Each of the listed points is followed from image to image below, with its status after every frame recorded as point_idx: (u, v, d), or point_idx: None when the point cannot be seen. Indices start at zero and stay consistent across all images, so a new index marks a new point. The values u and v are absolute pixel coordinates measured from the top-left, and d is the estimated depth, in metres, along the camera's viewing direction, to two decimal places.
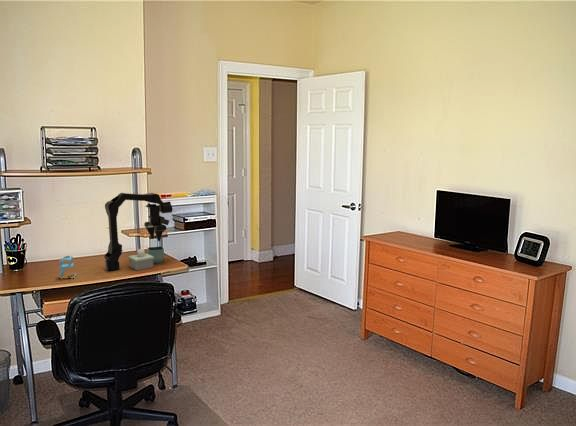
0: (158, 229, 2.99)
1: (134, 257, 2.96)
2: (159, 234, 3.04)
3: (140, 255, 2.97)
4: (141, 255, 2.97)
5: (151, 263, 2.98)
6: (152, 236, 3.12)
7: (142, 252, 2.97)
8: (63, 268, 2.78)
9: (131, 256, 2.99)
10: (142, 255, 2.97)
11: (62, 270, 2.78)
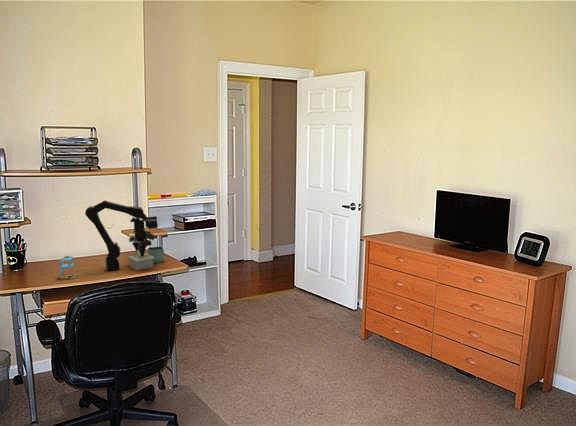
0: (143, 245, 2.89)
1: (134, 257, 2.96)
2: (142, 249, 2.95)
3: (140, 255, 2.97)
4: None
5: (151, 263, 2.98)
6: None
7: None
8: (63, 268, 2.78)
9: (131, 256, 2.99)
10: None
11: (62, 270, 2.78)
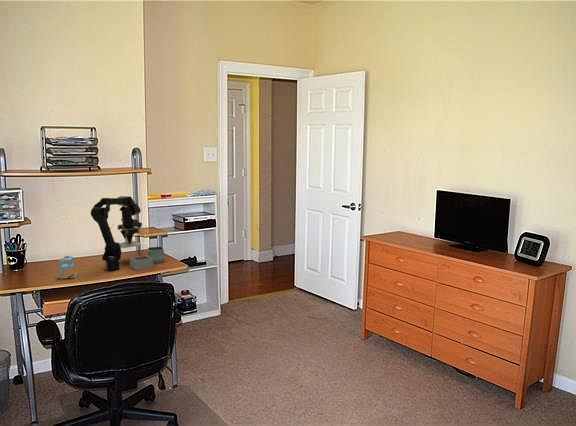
0: (130, 232, 3.00)
1: (122, 244, 3.07)
2: (130, 236, 3.06)
3: (128, 242, 3.08)
4: None
5: (151, 263, 2.98)
6: None
7: None
8: (63, 268, 2.78)
9: (119, 243, 3.10)
10: None
11: (62, 270, 2.78)
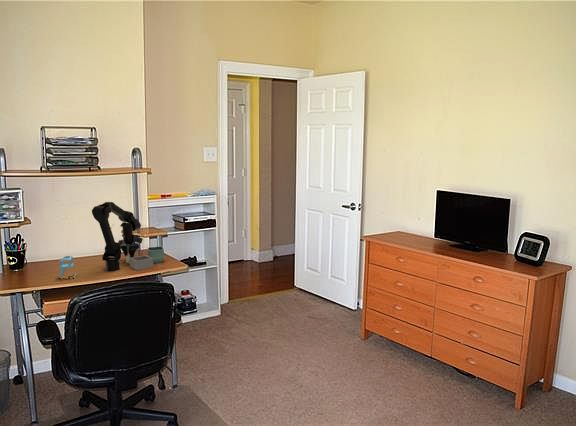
0: (130, 248, 3.01)
1: None
2: (132, 253, 3.06)
3: (129, 261, 3.10)
4: None
5: (151, 263, 2.98)
6: (126, 254, 3.14)
7: None
8: (63, 268, 2.78)
9: None
10: None
11: (62, 270, 2.78)
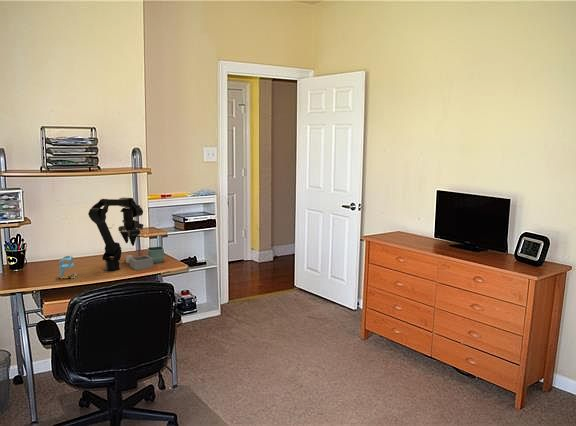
0: (131, 233, 2.98)
1: None
2: (133, 238, 3.03)
3: (129, 261, 3.10)
4: None
5: (151, 263, 2.98)
6: (126, 240, 3.11)
7: None
8: (63, 268, 2.78)
9: None
10: None
11: (62, 270, 2.78)
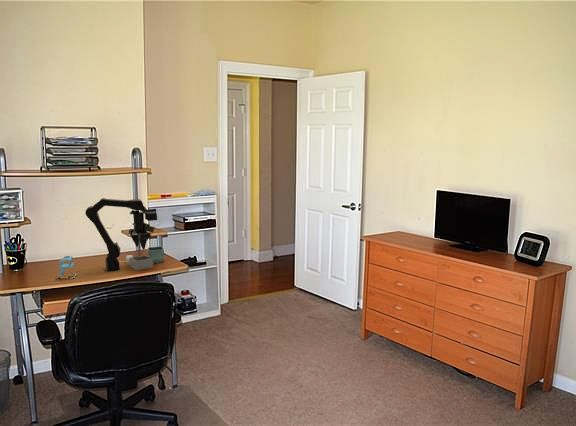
0: (142, 237, 2.88)
1: None
2: (143, 242, 2.93)
3: (129, 261, 3.10)
4: None
5: (151, 263, 2.98)
6: (137, 244, 3.01)
7: None
8: (63, 268, 2.78)
9: None
10: None
11: (62, 270, 2.78)
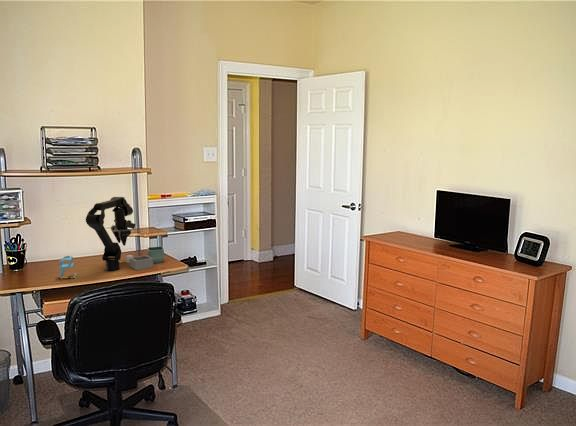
0: (122, 233, 2.94)
1: None
2: (124, 238, 2.99)
3: (129, 261, 3.10)
4: None
5: (151, 263, 2.98)
6: (119, 240, 3.07)
7: None
8: (63, 268, 2.78)
9: None
10: None
11: (62, 270, 2.78)
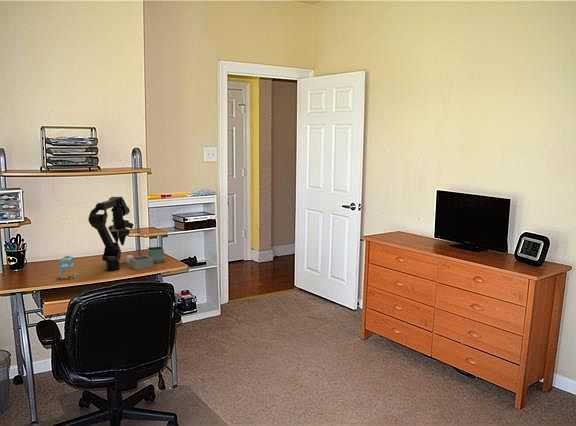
0: (121, 233, 2.95)
1: None
2: (122, 238, 2.99)
3: (129, 261, 3.10)
4: None
5: (151, 263, 2.98)
6: (116, 240, 3.08)
7: None
8: (63, 268, 2.78)
9: None
10: None
11: (62, 270, 2.78)
